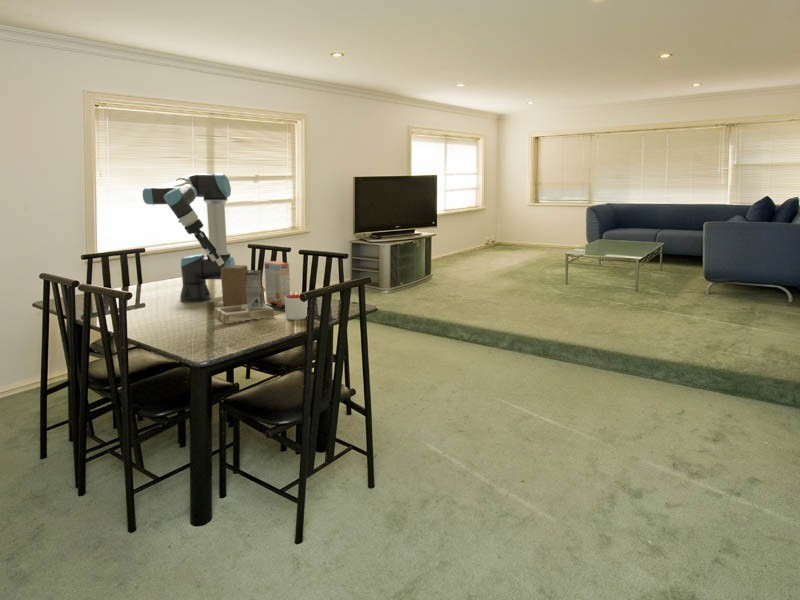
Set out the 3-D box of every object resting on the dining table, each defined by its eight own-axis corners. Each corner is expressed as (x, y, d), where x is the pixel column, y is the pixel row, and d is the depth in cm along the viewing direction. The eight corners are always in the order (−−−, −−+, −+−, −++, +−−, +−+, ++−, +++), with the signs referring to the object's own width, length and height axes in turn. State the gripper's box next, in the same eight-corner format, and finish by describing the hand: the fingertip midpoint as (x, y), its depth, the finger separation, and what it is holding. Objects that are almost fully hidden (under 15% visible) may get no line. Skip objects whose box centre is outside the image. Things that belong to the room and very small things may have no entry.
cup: (296, 314, 272) (295, 293, 270) (312, 317, 266) (311, 295, 264) (280, 318, 264) (279, 297, 262) (297, 321, 258) (295, 299, 256)
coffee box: (249, 304, 275) (247, 270, 271) (263, 303, 275) (261, 269, 272) (246, 308, 266) (244, 273, 262) (261, 307, 266) (259, 272, 263)
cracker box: (291, 304, 295) (289, 262, 290) (281, 305, 291) (279, 264, 286) (276, 300, 305) (274, 260, 300) (266, 301, 300) (263, 261, 296)
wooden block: (241, 308, 286) (238, 268, 281) (222, 307, 288) (219, 267, 283) (250, 304, 295) (248, 265, 291) (232, 303, 297) (229, 264, 293)
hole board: (215, 316, 270) (214, 307, 269) (261, 310, 281) (261, 301, 280) (225, 323, 256) (225, 314, 255) (274, 317, 267) (273, 307, 266)
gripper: (179, 224, 266) (205, 262, 275) (188, 229, 245) (217, 271, 254) (193, 215, 268) (219, 253, 277) (204, 220, 247) (232, 261, 256)
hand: (218, 262), depth 265 cm, fingers open, 13 cm apart
